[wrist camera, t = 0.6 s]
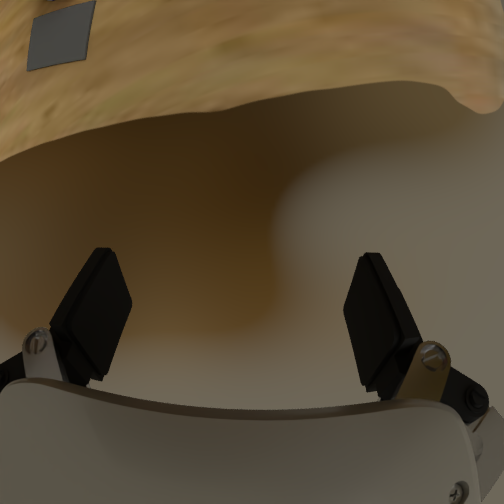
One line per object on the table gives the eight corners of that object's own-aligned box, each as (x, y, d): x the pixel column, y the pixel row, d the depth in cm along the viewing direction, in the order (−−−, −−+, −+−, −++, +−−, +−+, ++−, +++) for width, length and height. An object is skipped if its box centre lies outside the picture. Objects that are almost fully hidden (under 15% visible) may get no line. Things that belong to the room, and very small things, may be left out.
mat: (35, 18, 20) (33, 18, 19) (96, 0, 21) (94, 0, 21) (28, 71, 26) (26, 71, 25) (86, 59, 27) (84, 59, 26)
